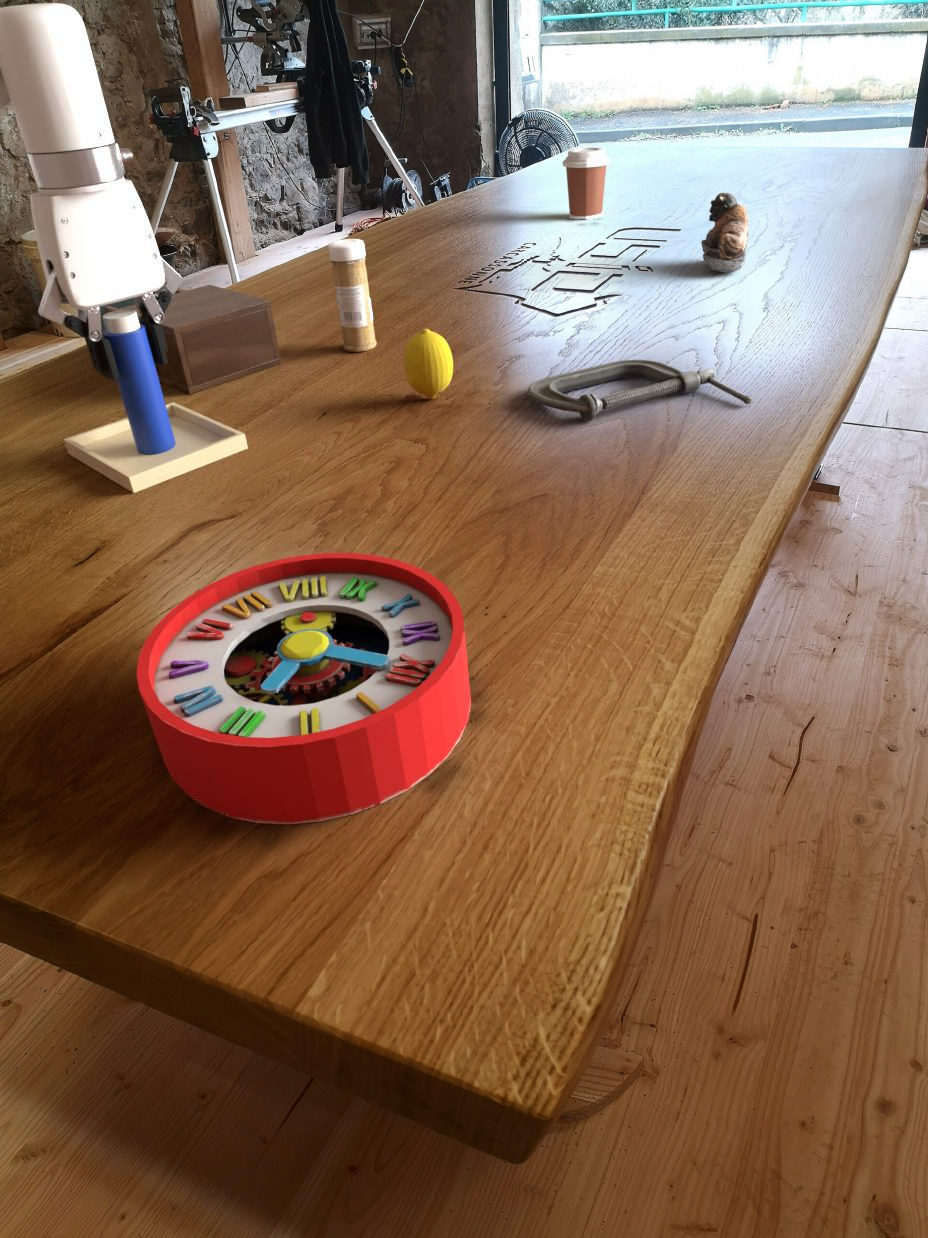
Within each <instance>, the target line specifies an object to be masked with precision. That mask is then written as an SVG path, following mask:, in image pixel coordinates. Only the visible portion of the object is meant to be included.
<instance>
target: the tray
mask: <svg viewBox="0 0 928 1238" xmlns="http://www.w3.org/2000/svg"><path fill="white" fill-rule="evenodd" d="M165 405H166V409H167V412H168V416H169V420H170V424H171V427H172V431H173V435H174V438H175V442H176V445H175V446H174V447H173V448H172V449H170V450H168V451H166V452H163V453H159V454H153V455H145V454H141V453H139V452H138V451H137V448H136V444H135V441H134V437H133V434H132V431H131V427H130V424H129V421H128V417H125V418H122V419H119V420H116V421H114V422H110V423H108V424H105V425H102V426H98V427H96V428H92V429H90V430H87V431H84V432H80V433H79V434H75V435H73V436H69V437H67V438H63V442H64V445H65V448H66V451H67V454H68V455H70V456H71V457H73V458H74V459H76V460H78V461H80V462H81V463H83V464H85V465H86V466H88V467H90V468H91V469H92V470H95V471H96V472H98V473H99V474H101V475H103V476H104V477H106V478H108V479H109V480H111V481H113V482H114V483H116V484H118V485H119V486H121V487H123V489H126V490H128V492H129V491H130V492H131V493H133V494H135V493H138V492H140V491H143V490H146V489H149V488H151V487H153V486H157V485H159V484H161V483H164V482H165V481H169V480H171V479H174V478H176V477H179V476H182V475H184V474H187V473H189V472H191V471H194V470H196V469H200V468H202V467H204V466H207V465H209V464H212V463H215V462H217V461H221V460H222V459H225V458H227V457H230V456H233V455H236V454H238V453H240V452H243V451H246V450H248V449H249V447H248V441H247V438H246V434H245V433H244V432H242V431H240V430H237V429H235V428H233V427H230V426H228V425H226V424H224V423H221V422H219V421H217V420H214V419H212V418H210V417H208V416H205V415H204V414H202V413H199V412H197V411H194V410H192V409H190V408H188V407H186V406H183V405H182V404H181V405H180V404H178V403H176V402H174V401H173V402H170V403H167V404H166V403H165Z"/></svg>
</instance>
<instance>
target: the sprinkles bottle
mask: <svg viewBox="0 0 928 1238" xmlns="http://www.w3.org/2000/svg"><path fill="white" fill-rule="evenodd" d="M327 247H328V254H329V260H330V263H331V266H332V274H333V279H334V281H333V282H334V290H335V297H336V303H337V310H338V317H339V324H340V327H341V333H342V341H343V344H342V347H343V349H344V350H345V351H348V352H351V353H362V352H367V351H370V350H372V349H374V348H375V347H376V346H377V339H376V334H375V327H374V314H373V308H372V300H371V297H370V296H371V295H370V288H369V281H368V272H367V266H366V246H365V242H364V240H362V239H361V238H360V239H359V238H345V239H338V240H334V241H332V242H329V243H328V246H327Z"/></svg>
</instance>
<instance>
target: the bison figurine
mask: <svg viewBox="0 0 928 1238" xmlns="http://www.w3.org/2000/svg"><path fill="white" fill-rule="evenodd" d="M710 205H711V206H710V208H709V210H708V211H709V213H710V214H709V217H708V221H709V222H714V226H713V227H712V228H711V229H709V231H708V232H707V234H706V236H705V239H702V240H701V247H702V260H703V262H704V263H705V264H706V265H707V266H708V267H709V269H710V270H712V271H715V272H719V273H732V272H737V271H739V270H741V269H742V268H743V267H744V265H745V262H746V256H747V254H746V250H747V246H748V238H749V215H748V212H747V210H746V209H745V206H744V205H742V204H738V201H737V199H736V197H735V196H734V195H733V194H732V193H730V192H722V191H720V193H718V194H717V195H716V197H715V198H714V199H712V200H711V201H710Z"/></svg>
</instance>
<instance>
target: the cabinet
mask: <svg viewBox="0 0 928 1238" xmlns="http://www.w3.org/2000/svg"><path fill="white" fill-rule="evenodd" d="M124 309H131V310H135V311H136V313H137V317H138V320H139V321H141V315H140V313H139V311H138V309H137V307H136V305H135V304H134V305H131V306H127V307H123V308H119V309H117V310H124ZM164 316H165V319H164V321H163V322H162V323H161V325H162V329H163V333H164V337H165V340H166V344H167V348H168V352H166V357H167V360H168V364H165V365H161V364H158V363H155V362H154V364H155V368H156V371H157V375H158V379H159V382H160V383H161V384H164V385H167V386H169V387H171V388H172V389H173V388H174V389H176V390H178V391H180V392H183V393H185V394H188V395H193V394H195V393H199V392H201V391H204V390H207V389H210V388H213V387H216V386H220V385H222V384H226V383H228V382H232V381H234V380H237V379H240V378H242V377H246V376H248V375H252V374H254V373H257V372H261V371H263V370H267V369H269V368H272V367H275V366H279V365H281V364H282V361H281V353H280V349H279V343H278V338H277V333H276V328H275V327H276V326H275V321H274V317H273V312H272V306H271V301H270V300H269V299H266V298H261V297H257V296H254V295H250V294H248V293H247V294H245V293H243V292H239V291H235V290H232V289H227V288H224V287H220V286H216V285H212V284H207V285H206V284H205V285H202V286H198V287H195V288H192V289H191V288H190V289H188V290H186V291H183V292H180V293H176V294H174V295H173V296H172V298H171V302H170V304H169V306H168V308H167V310H166V312H165V314H164Z"/></svg>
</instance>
